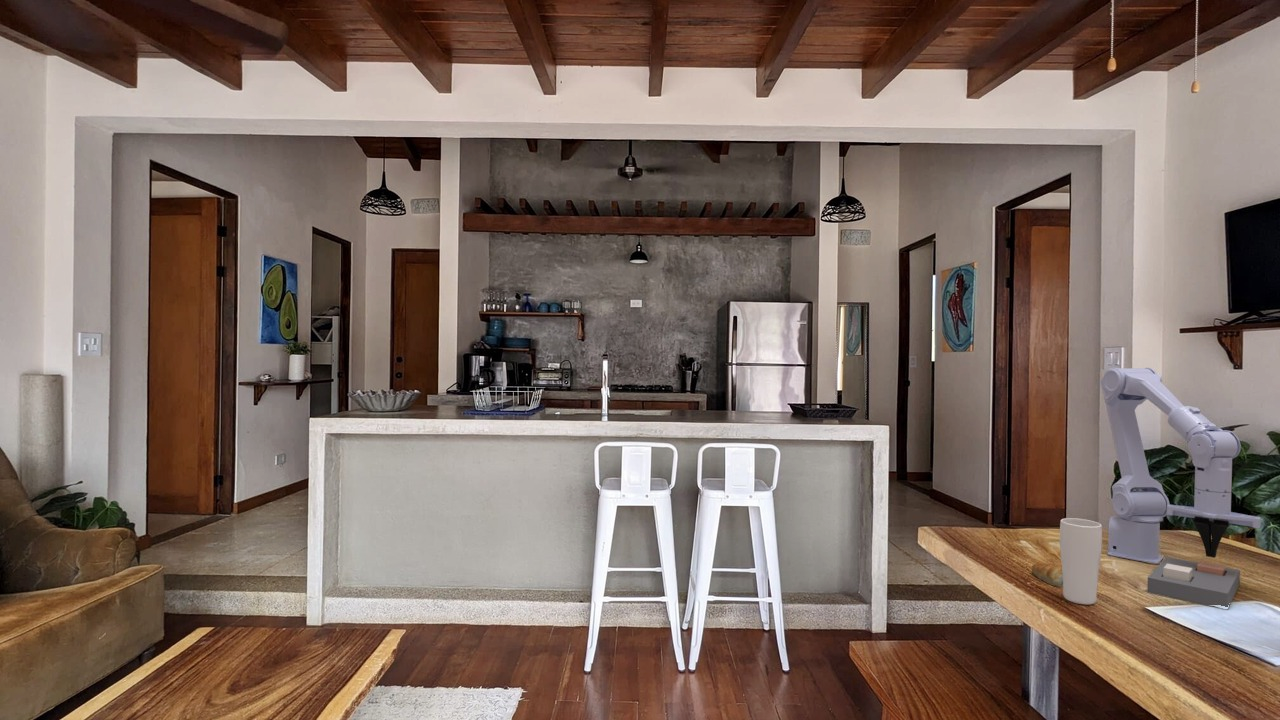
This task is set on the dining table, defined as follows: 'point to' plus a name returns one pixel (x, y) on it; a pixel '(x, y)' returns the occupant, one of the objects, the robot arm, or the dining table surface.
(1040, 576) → the pastry
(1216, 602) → the key panel
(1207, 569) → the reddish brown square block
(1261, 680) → the dining table surface
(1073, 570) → the drinking glass
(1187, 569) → the white key
